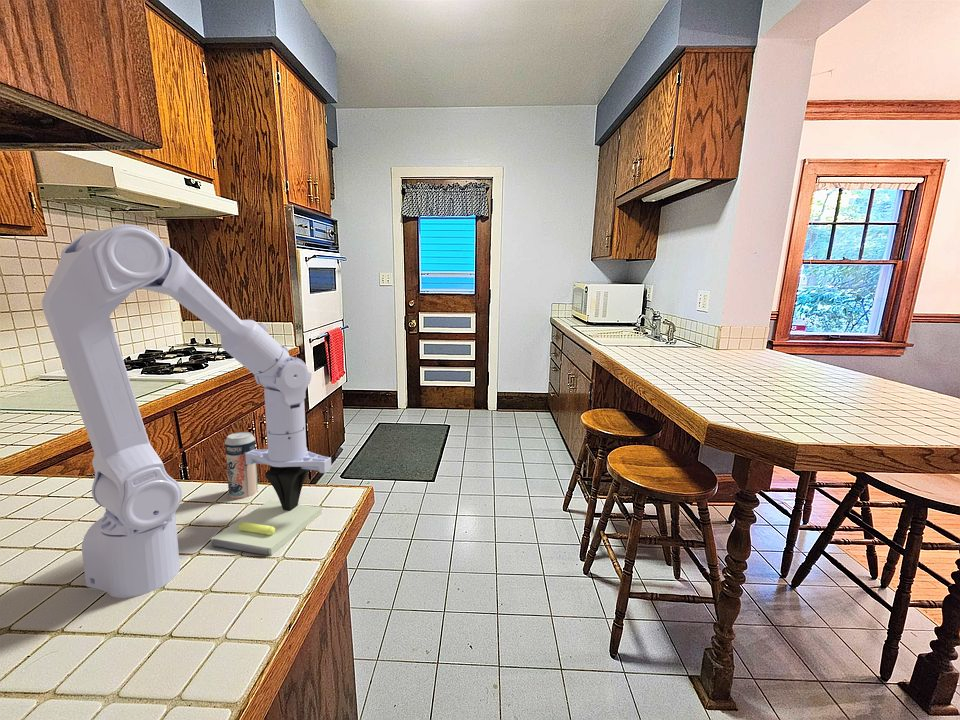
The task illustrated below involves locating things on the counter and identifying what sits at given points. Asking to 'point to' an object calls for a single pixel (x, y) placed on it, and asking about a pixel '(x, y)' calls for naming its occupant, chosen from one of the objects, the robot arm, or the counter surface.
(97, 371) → the robot arm
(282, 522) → the plate
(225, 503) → the counter surface
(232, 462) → the beer can
